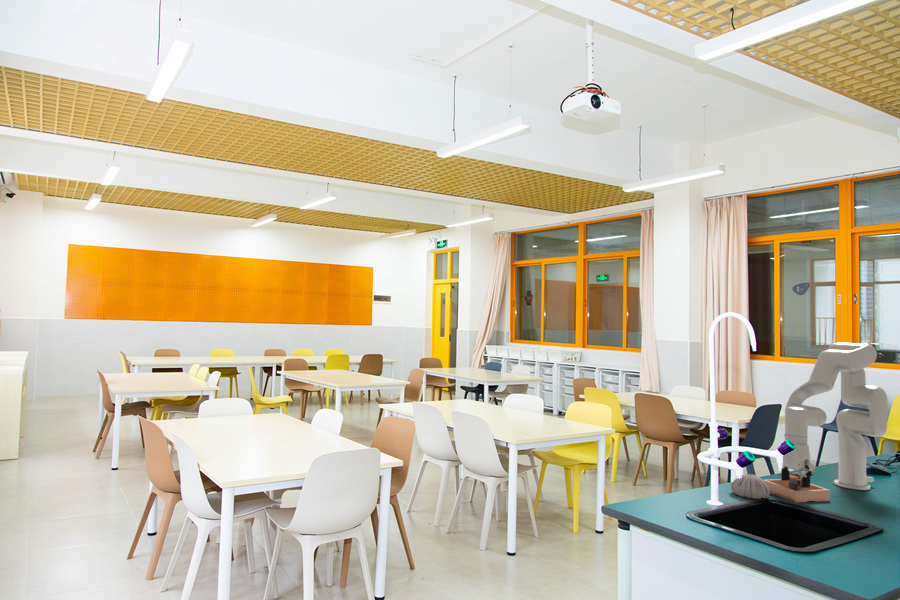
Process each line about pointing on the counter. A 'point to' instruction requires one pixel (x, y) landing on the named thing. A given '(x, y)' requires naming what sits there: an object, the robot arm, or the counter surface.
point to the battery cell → (795, 481)
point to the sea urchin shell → (750, 487)
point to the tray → (803, 495)
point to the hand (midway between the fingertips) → (795, 483)
